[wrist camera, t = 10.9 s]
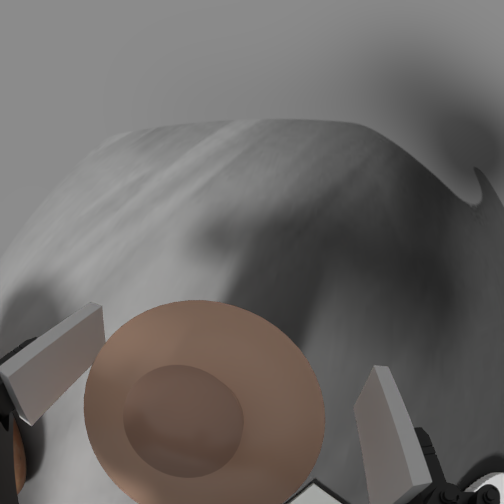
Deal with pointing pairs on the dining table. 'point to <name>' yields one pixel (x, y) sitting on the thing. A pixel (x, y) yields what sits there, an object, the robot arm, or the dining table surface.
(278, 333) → the bottle
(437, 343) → the dining table surface
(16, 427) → the ceramic jug
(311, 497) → the mat
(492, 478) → the plastic lid
